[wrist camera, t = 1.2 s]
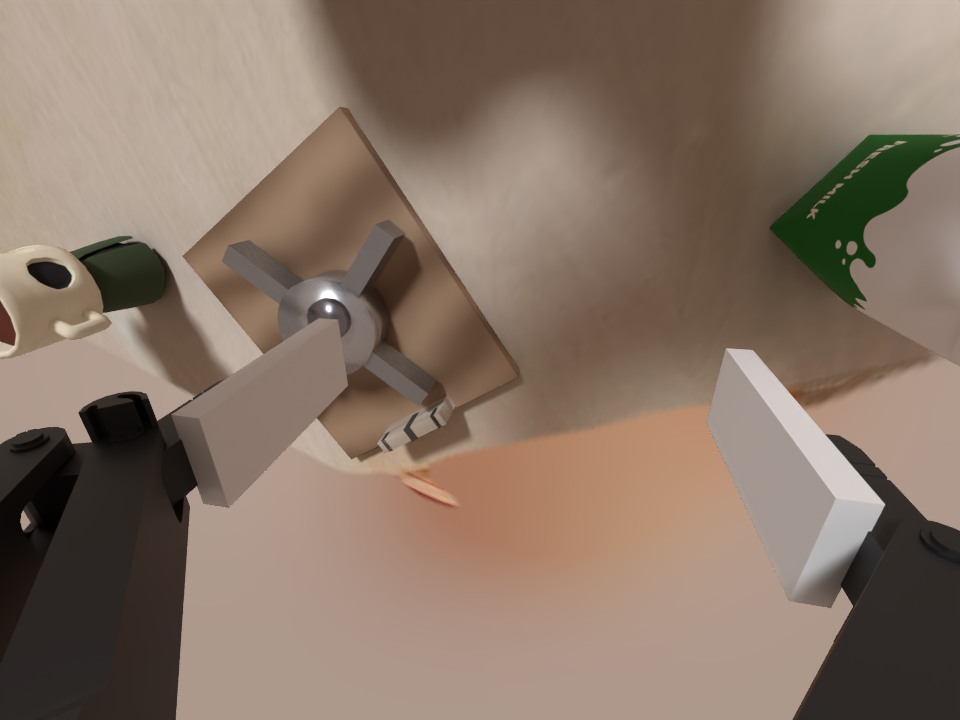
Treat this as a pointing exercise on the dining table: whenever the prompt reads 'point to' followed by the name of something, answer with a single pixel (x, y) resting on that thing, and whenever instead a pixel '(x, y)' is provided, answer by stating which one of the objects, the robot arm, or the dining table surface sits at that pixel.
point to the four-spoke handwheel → (339, 306)
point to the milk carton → (889, 235)
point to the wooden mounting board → (402, 285)
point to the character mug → (71, 291)
